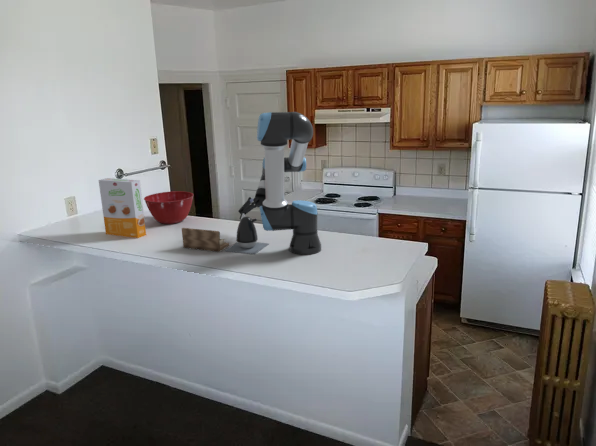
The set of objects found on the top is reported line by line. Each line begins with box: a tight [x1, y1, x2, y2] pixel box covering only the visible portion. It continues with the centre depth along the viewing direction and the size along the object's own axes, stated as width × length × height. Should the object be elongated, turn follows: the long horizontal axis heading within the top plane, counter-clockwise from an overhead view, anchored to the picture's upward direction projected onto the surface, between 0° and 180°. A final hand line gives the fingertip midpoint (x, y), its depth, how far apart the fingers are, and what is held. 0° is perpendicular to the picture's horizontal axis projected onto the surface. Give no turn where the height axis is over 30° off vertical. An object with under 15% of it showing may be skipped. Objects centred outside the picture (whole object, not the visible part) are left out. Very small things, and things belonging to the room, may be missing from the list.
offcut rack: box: [181, 227, 230, 253], centre depth 227 cm, size 20×10×10 cm, turn 69°
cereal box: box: [98, 177, 147, 239], centre depth 248 cm, size 22×6×30 cm, turn 66°
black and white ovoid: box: [235, 216, 258, 248], centre depth 224 cm, size 10×10×15 cm
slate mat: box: [224, 241, 270, 255], centre depth 226 cm, size 16×16×1 cm
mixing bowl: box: [143, 190, 194, 225], centre depth 275 cm, size 28×28×15 cm
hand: (252, 227), depth 230 cm, fingers open, 13 cm apart
